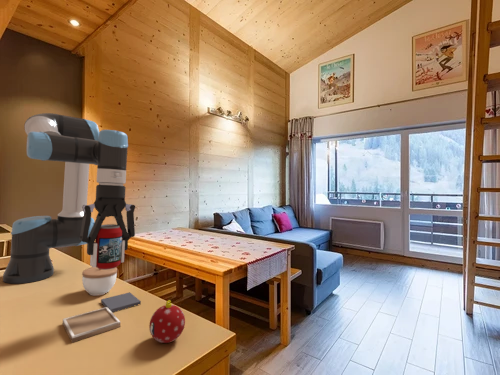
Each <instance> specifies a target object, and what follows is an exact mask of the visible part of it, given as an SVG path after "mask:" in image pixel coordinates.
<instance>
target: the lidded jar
mask: <svg viewBox="0 0 500 375" xmlns="http://www.w3.org/2000/svg"><path fill="white" fill-rule="evenodd" d="M81 273H82V274H81V275H82V287H83V289H84V290H85V292H87V293H88V294H89V295H90V296H96V297H97V296H103V295H105V293H106V294H108V293H109V292H110V290H112V289H113V287H114V286H115V283H116V281H117V276H118V268H117V267H116V268H113V269H107V270H102V269H98V268H97V267H92V266H90V267H87V268H86V269H84V270H83V271H82V272H81ZM107 292H108V293H107Z"/></svg>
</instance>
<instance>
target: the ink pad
mask: <svg viewBox="0 0 500 375" xmlns="http://www.w3.org/2000/svg"><path fill="white" fill-rule="evenodd" d="M100 303H101V304H102V305H103V307H104V308H105V307H108V308H109V310H110V311H111V312H112V313H114V312H115V311H116V312H118V310H119V311H122V309H123V310H125V308H126V309H129V308H128V307H130V308H132V307H131V306H133V307H135V306H134V305H136V306H139V305H138V304H140V305H141V300H140V299H139V298H138V297H136V296H135V295H133V293H131V292H126V293H121V294H117V295H114V296H109V297H105V298H102V299H100Z"/></svg>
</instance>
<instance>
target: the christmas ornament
mask: <svg viewBox="0 0 500 375" xmlns="http://www.w3.org/2000/svg"><path fill="white" fill-rule="evenodd" d="M148 326H149V332H150V335H151V337H152V338H153V339H154V340H155V341H156V342H158V343H160V344H161V343H162V344H168V343H172V342H173V341H175V340H177V339H178V338H179V337H180V336H181V335H182V333H183V331H184V328H185V326H186V317H185V313H184V312H183V310H182V309H181V308H180V307H179V306H177V305H174V304H172V301H171V300H170V299H169V300H167V301H166V303H165V304H164V305H162V306H160V307H158V308H157V309H156V310H155V312H153V313H152V315H151V317H150V320H149V325H148Z"/></svg>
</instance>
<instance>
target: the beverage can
mask: <svg viewBox="0 0 500 375" xmlns="http://www.w3.org/2000/svg"><path fill="white" fill-rule="evenodd" d="M95 243H97V261H96V267H97V268H98V269H102V270H107V269H113V268H117V267H118V266H120V265H121V247H122V230H121V228H120V225H117V224H113V223H110V224H108V223H107V224H102V225H101V228H100V230H99V232H98V235H97V237H96V239H95Z"/></svg>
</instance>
